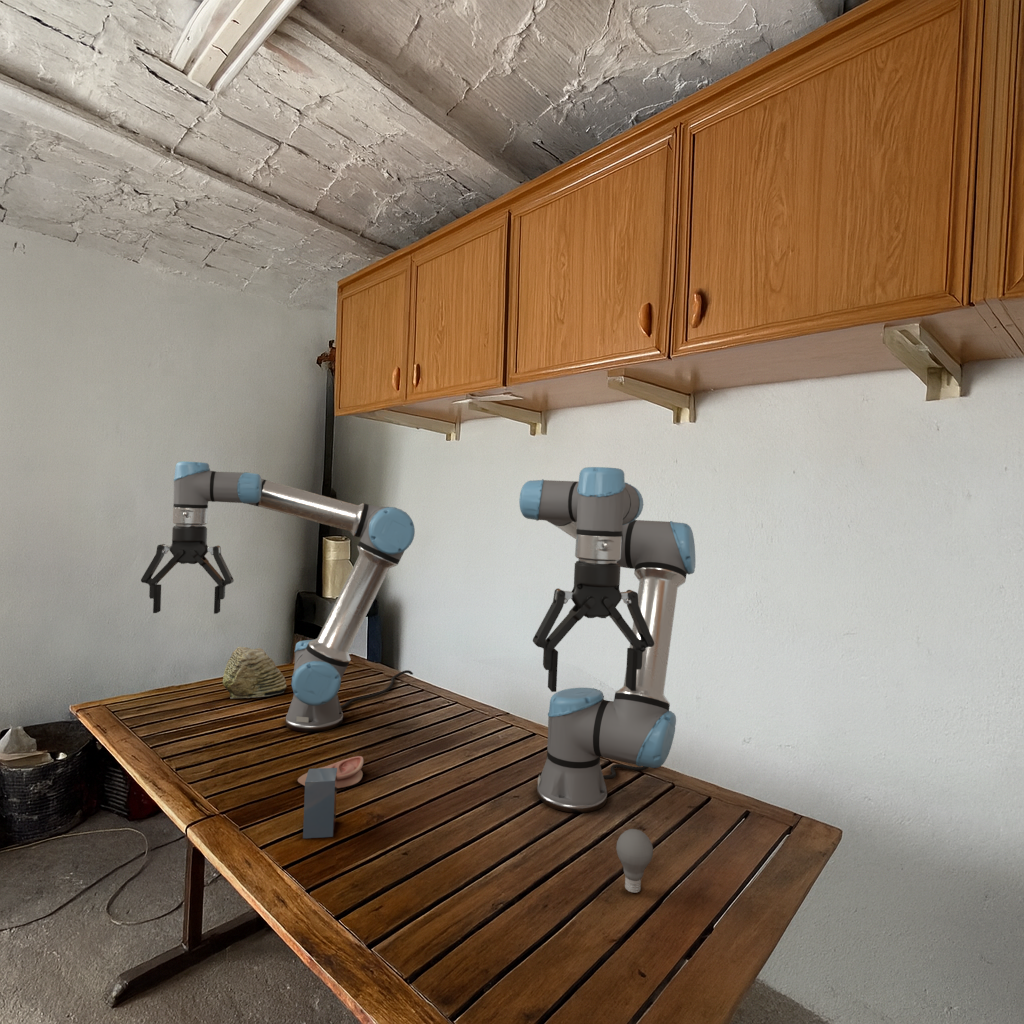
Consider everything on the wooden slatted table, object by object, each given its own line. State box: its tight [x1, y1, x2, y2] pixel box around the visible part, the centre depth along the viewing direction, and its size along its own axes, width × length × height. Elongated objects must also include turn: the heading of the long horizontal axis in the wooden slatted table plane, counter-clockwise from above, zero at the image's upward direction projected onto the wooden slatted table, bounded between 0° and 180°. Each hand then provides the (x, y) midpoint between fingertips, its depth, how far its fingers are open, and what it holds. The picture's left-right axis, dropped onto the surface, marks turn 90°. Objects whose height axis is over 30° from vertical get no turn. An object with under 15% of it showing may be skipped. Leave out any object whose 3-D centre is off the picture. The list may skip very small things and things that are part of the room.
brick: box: [302, 767, 338, 839], centre depth 121 cm, size 6×5×11 cm
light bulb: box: [615, 828, 654, 894], centre depth 106 cm, size 6×6×10 cm
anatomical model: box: [297, 755, 364, 789], centre depth 142 cm, size 13×4×12 cm
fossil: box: [222, 646, 288, 699], centre depth 198 cm, size 9×18×15 cm, turn 132°
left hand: (187, 612), depth 154 cm, fingers open, 13 cm apart
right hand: (591, 689), depth 105 cm, fingers open, 13 cm apart
